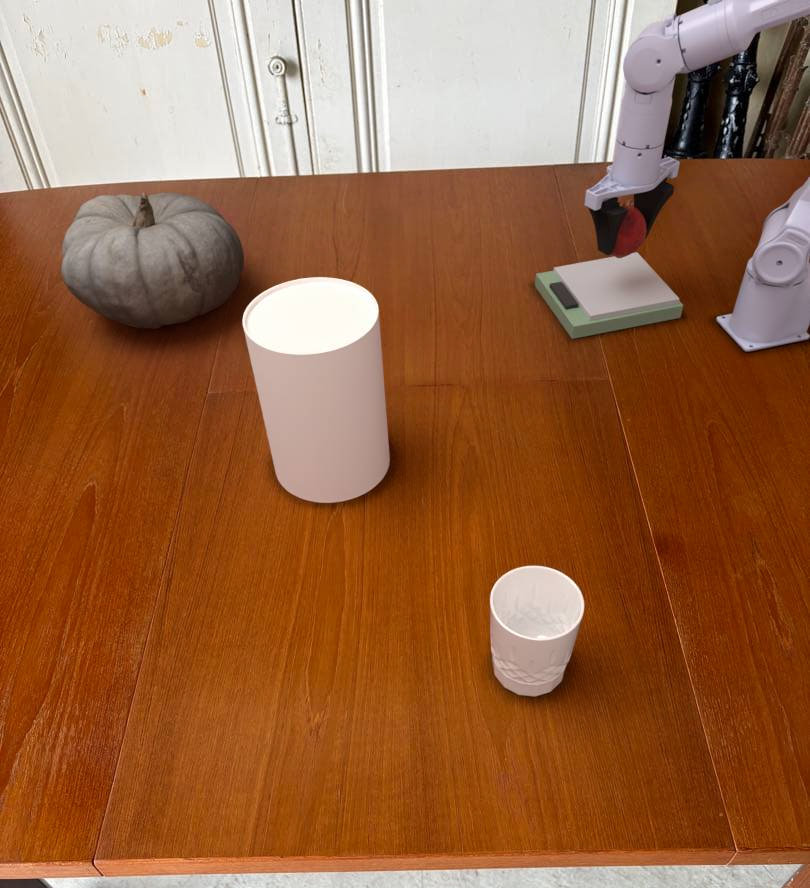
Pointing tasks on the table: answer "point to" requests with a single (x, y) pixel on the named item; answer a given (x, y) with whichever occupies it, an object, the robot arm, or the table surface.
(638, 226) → the onion
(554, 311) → the scale
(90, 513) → the table surface
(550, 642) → the white cup
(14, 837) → the table surface
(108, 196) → the gourd
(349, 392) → the canister
